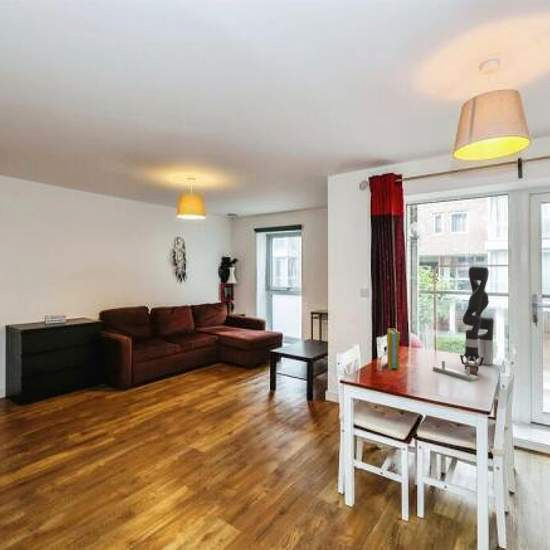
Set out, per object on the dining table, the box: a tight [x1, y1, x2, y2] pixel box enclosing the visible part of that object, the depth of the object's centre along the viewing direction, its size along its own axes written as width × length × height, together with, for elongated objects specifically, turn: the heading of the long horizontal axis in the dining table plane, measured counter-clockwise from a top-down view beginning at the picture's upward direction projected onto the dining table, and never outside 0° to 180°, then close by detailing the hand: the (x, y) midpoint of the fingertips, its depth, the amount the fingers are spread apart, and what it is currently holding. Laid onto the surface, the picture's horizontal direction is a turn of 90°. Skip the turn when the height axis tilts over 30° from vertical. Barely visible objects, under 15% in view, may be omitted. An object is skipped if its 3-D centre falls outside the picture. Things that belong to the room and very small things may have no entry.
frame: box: [467, 361, 478, 376], centre depth 227 cm, size 12×5×6 cm, turn 154°
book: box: [386, 327, 401, 371], centre depth 243 cm, size 17×7×25 cm, turn 168°
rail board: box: [432, 360, 479, 382], centre depth 224 cm, size 8×26×6 cm, turn 29°
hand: (471, 371), depth 227 cm, fingers closed on frame, 5 cm apart
